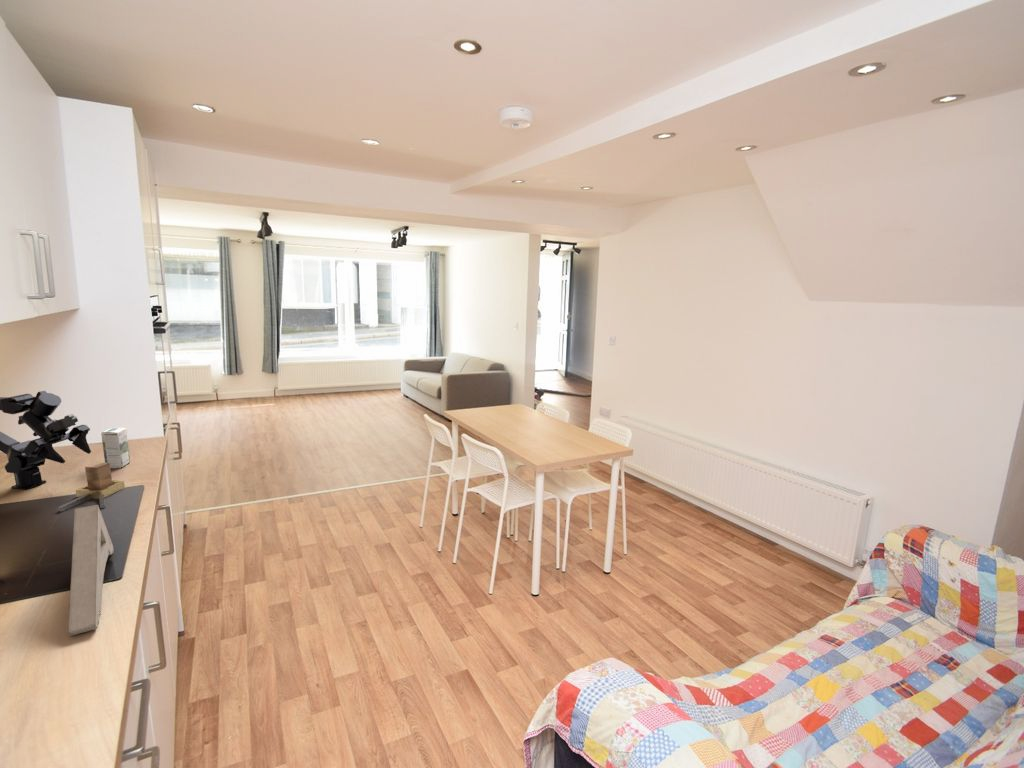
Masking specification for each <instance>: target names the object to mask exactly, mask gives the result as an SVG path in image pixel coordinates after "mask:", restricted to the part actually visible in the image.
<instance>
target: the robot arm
mask: <svg viewBox="0 0 1024 768" xmlns="http://www.w3.org/2000/svg"><path fill="white" fill-rule="evenodd" d="M61 403H62V399H61V397H60V396H59V395H57V394H55V393H52V392H47V391H46V390H41V391H38V392H37V393H36V395H35V396H33V395H32V394H31V393H24V394H19V395H15V396H14V395H13V396H9V397H7V396H6V397H5V396H2V397H1V396H0V411H2V413H4V414H8V415H17V414H21V413H23V414H22V415H18V421H17V424H18V425H24V424H25V425H26V426H28V428H29V429H31V430H32V431H33V432H32V435H33V436H34V437H38V438H34V439H32V440H30V439H29V440H26V441H22V442H20V441H18V440H17V439H14V438H13V437H11V436H9V435H7V434H6V433H4V432H3V431H0V452H1V453H3V454H4V455H5V454H6V458H7V461H8V462H7V463H6V464H5V465H4V469H5V471H6V473H8V474H9V473H10V474H13V476H14V480H15V481H14V483H15V485H12V486H11V487H10V488H11V489H20V490H21V489H22V490H30V489H32V488H35V487H37V486H41V485H42V484H46V483H47V480H43V479H42V474H41V471H40V467H41V466H44V465H45V462H46V460H50V461H53V462H57V463H59V464H65V463H66V460H65V459H64V458H63V456H62V455H60V454H59V453H58V452H57V451H56V450H55V449H54V447H53V445H54V444H58V443H60V442H64V441H66V440H68V441H69V442H71V444H72V446H75V447H76V448H77V449H79V450H81V451H82V452H84V453H86V454H91V453H92V450H91V448H90V446H89V444H88V441H87V435H88V434H89V431H90V430H91V428H90V427H89V426H88V425H86V424H80V425H77V426H76V423H78V422H79V420H78V418H77V416H76V415H74V414H73V413H70V414H67V415H64V418H59V419H52V418H51V417H49V416H51V415H53V413H54V412H55V411H56V410H57V409H58V407H59V406H60V405H61ZM73 426H74V427H73ZM71 427H72V429H70V428H71ZM69 430H70V431H69ZM68 431H69V432H68ZM67 432H68V433H67Z"/></svg>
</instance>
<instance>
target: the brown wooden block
mask: <svg viewBox="0 0 1024 768" xmlns="http://www.w3.org/2000/svg"><path fill="white" fill-rule="evenodd" d="M84 469H85V475H86V482H87V485H88V490H103V489H105V488H107V487H109V486H111V485H112V480H113V479H112V471H111V468H110V464H109V463H105V461H104V462H102V461H101V462H100V461H97V462H96V461H95V462H93V463H91V464H89V465H86V466H84Z"/></svg>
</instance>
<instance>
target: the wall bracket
mask: <svg viewBox="0 0 1024 768" xmlns="http://www.w3.org/2000/svg"><path fill="white" fill-rule="evenodd" d="M73 512H74V513H73V514H74V516H73V529H72V530H73V532H72V533H73V535H72V554H71V573H70V592H69V593H70V594H69V610H68V611H69V612H68V632H67V633H68V635H69V636H70V637H72V636H76V635H80V634H83V633H86V632H91V631H93V630H94V631H95V630H97V629H98V624H99V623H100V614H99V613H100V612H101V613H102V602H103V601H102V599H103V598H102V597H103V587H104V578H105V577H104V576H105V570H106V566H107V562H108V558H109V556H112V555H114V545H113V542H112V539H111V537H110V534H109V531H108V528H107V526H106V523H105V522H106V521H105V519H104V517H103V514H102V512H101V509H100V505H99V504H94V505H93V504H92V505H88V506H82V507H76V508H74V511H73Z"/></svg>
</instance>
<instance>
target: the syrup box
mask: <svg viewBox="0 0 1024 768" xmlns="http://www.w3.org/2000/svg"><path fill="white" fill-rule="evenodd" d="M127 431H128V430H127V428H126V427H112V428H108V429H107V430H104V431H102V432H101V441H102V451H103V457H104V463H109V464H110V469H122V468H124V467H126V466H127V465H129V464H130V463H131V458H130V449H129V441H128V440H129V439H128V432H127ZM128 463H129V464H128ZM125 465H126V466H125ZM121 467H122V468H121Z"/></svg>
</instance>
